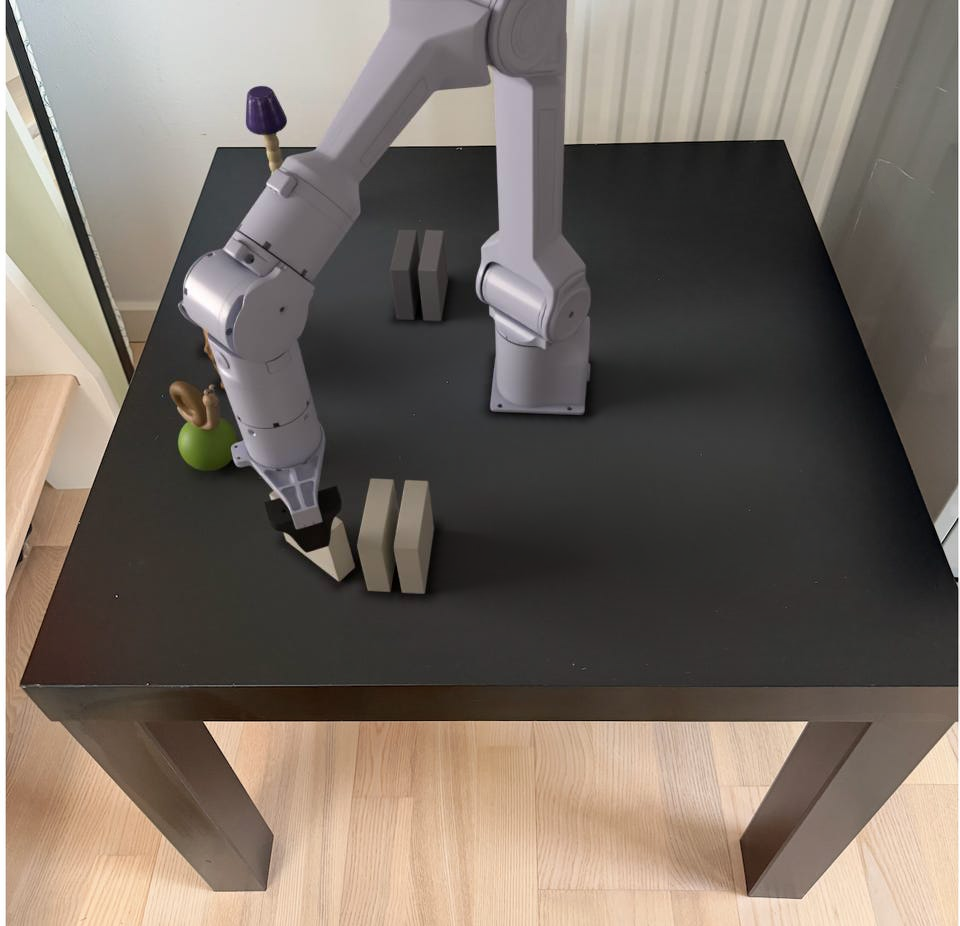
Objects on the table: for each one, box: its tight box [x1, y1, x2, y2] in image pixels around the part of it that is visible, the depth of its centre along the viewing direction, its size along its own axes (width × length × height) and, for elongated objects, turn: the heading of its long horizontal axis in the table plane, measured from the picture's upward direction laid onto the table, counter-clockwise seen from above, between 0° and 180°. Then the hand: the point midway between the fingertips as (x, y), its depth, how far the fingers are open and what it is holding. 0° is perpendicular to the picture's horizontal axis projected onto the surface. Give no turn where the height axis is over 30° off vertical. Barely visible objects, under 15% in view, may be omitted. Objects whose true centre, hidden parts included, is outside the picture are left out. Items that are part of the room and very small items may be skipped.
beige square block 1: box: [356, 478, 400, 593], centre depth 78 cm, size 2×7×7 cm, turn 175°
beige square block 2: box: [394, 479, 435, 595], centre depth 78 cm, size 2×7×7 cm, turn 175°
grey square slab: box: [389, 229, 421, 321], centre depth 101 cm, size 2×7×7 cm, turn 175°
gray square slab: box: [418, 229, 449, 322], centre depth 100 cm, size 2×7×7 cm, turn 175°
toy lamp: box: [245, 85, 288, 176], centre depth 108 cm, size 5×5×17 cm
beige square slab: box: [268, 490, 356, 582], centre depth 79 cm, size 2×7×7 cm, turn 50°
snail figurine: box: [169, 380, 238, 472], centre depth 84 cm, size 5×6×12 cm
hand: (306, 510), depth 76 cm, fingers open, 7 cm apart
